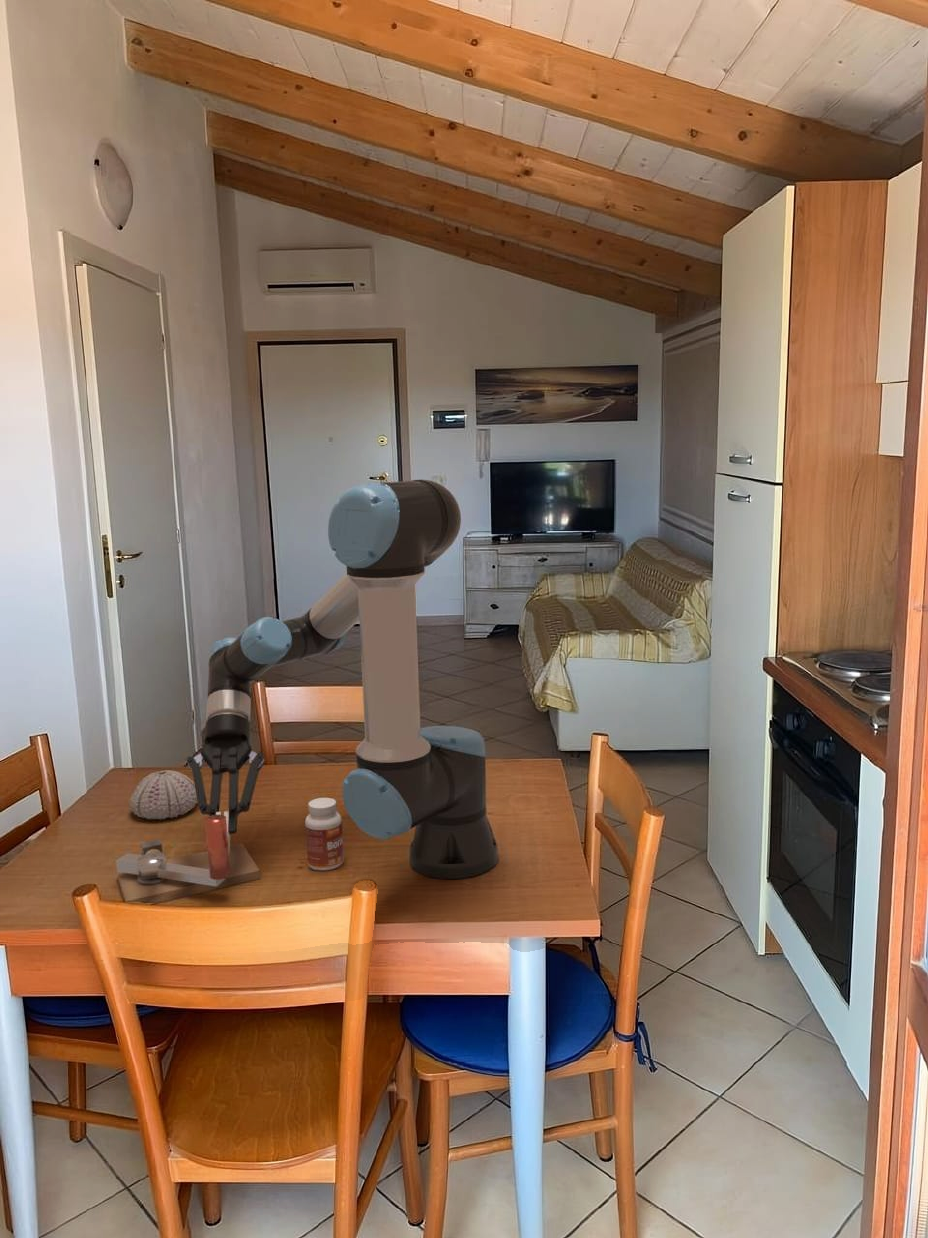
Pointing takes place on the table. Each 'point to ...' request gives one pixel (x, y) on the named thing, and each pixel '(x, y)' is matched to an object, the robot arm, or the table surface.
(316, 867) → the pill bottle
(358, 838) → the table surface
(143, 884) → the cracker base
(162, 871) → the lever
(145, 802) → the sea urchin shell
